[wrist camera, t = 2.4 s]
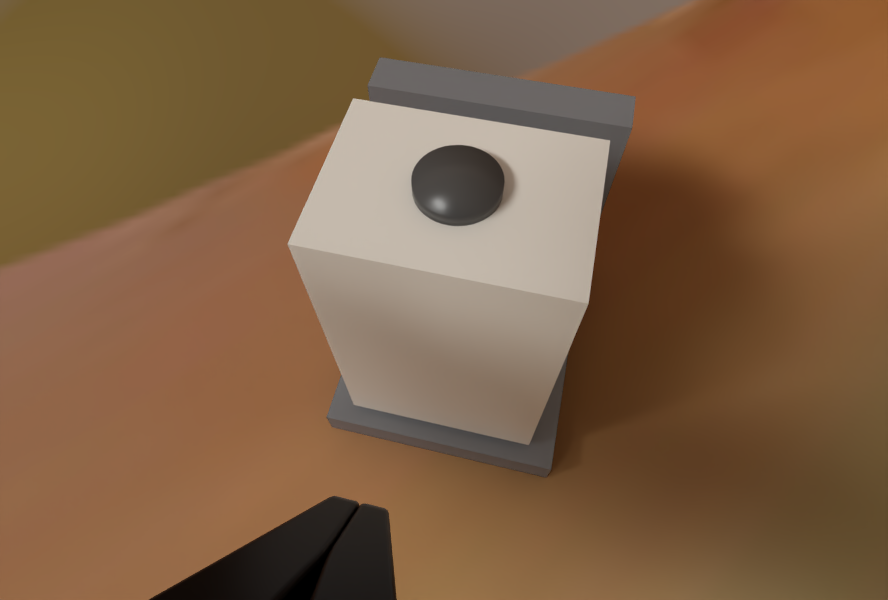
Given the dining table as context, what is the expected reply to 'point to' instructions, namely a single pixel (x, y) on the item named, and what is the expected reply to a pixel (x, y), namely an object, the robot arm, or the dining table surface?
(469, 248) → the plunger
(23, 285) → the dining table surface
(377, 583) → the robot arm
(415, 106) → the housing
